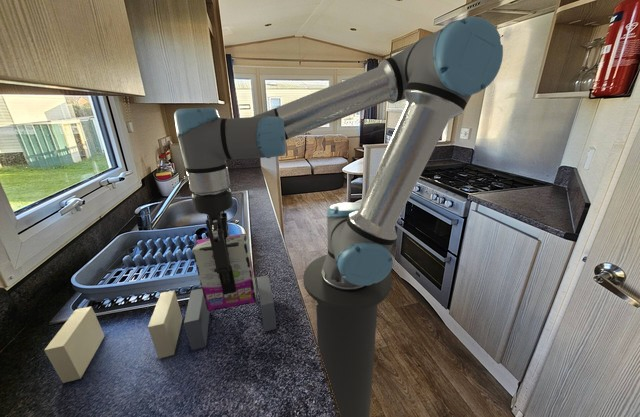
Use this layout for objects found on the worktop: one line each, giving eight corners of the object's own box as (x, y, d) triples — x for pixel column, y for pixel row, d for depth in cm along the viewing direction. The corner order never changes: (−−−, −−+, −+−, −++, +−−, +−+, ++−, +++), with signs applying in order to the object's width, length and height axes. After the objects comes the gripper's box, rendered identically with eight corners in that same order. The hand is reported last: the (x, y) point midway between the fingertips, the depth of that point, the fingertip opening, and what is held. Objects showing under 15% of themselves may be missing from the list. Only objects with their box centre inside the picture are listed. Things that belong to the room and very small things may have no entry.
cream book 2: (182, 318, 67) (174, 290, 63) (174, 354, 57) (163, 323, 54) (169, 321, 66) (160, 292, 63) (158, 358, 56) (147, 327, 53)
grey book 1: (209, 312, 69) (204, 287, 66) (205, 346, 59) (198, 319, 56) (197, 315, 68) (191, 290, 65) (191, 350, 58) (183, 323, 55)
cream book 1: (104, 335, 62) (91, 306, 59) (80, 378, 52) (63, 345, 49) (89, 339, 61) (75, 309, 58) (62, 383, 52) (43, 350, 48)
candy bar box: (256, 289, 66) (247, 232, 60) (256, 303, 62) (246, 242, 56) (210, 297, 64) (196, 238, 58) (206, 312, 60) (190, 249, 54)
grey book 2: (270, 299, 73) (268, 275, 70) (276, 328, 63) (273, 302, 60) (260, 301, 72) (256, 277, 69) (264, 332, 62) (260, 305, 59)
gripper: (196, 180, 60) (215, 266, 68) (182, 208, 43) (209, 316, 52) (230, 177, 62) (244, 260, 70) (230, 201, 45) (248, 307, 54)
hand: (229, 284), depth 61 cm, fingers closed on candy bar box, 5 cm apart
